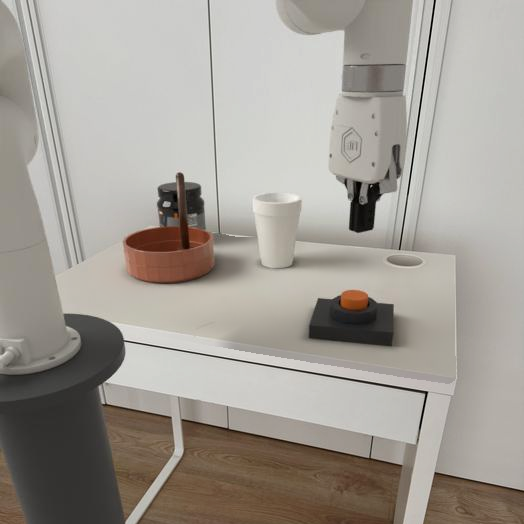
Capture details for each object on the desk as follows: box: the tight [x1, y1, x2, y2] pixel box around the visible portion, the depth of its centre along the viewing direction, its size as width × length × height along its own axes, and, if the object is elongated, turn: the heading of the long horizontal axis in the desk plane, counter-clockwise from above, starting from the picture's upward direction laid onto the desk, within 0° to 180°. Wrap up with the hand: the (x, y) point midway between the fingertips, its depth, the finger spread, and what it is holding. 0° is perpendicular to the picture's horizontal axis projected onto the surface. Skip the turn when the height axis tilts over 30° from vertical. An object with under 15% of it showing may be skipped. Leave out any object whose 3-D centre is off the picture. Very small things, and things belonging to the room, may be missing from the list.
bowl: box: [122, 226, 216, 284], centre depth 102 cm, size 17×17×6 cm
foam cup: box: [252, 191, 303, 269], centre depth 102 cm, size 10×9×13 cm
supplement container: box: [156, 181, 207, 230], centre depth 116 cm, size 10×10×12 cm
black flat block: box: [308, 294, 395, 347], centre depth 79 cm, size 10×12×4 cm
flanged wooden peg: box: [175, 171, 195, 251], centre depth 101 cm, size 4×4×16 cm
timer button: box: [340, 289, 369, 310], centre depth 77 cm, size 4×4×2 cm
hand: (361, 229), depth 72 cm, fingers closed
